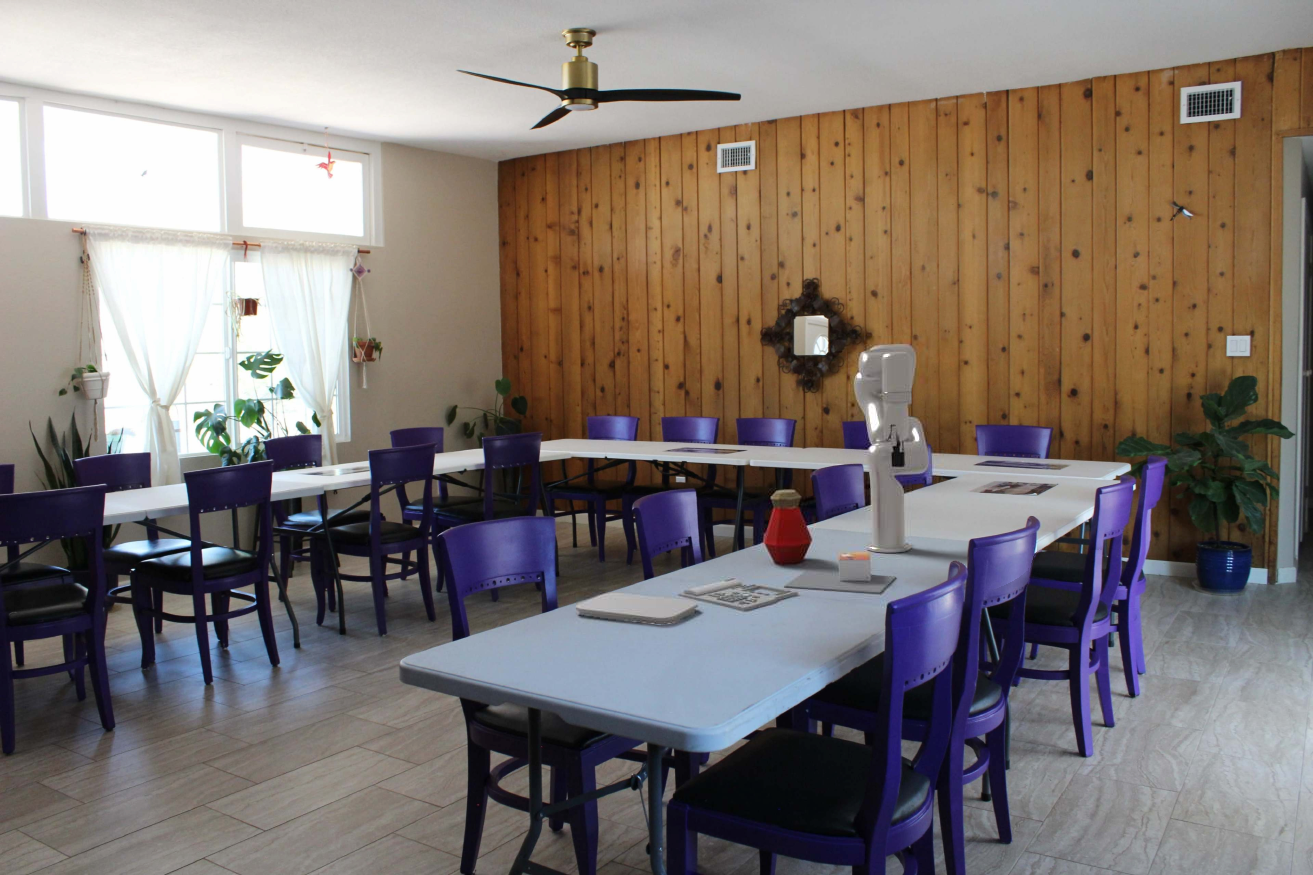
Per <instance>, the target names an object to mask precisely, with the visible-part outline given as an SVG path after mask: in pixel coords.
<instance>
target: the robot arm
mask: <svg viewBox="0 0 1313 875" xmlns="http://www.w3.org/2000/svg"><path fill="white" fill-rule="evenodd" d="M916 367H917V356H916V351H915V349H914V348H913V346H912V345H910V344H907V343H898V344H895V343H894V344H878V345H874V346H872V347H871V348H870V349H869V350H864V351H862V352H861V353H860V355H859V358H858V371H859V372H858V373H857V374H855V376H854V380H853V389H854V394H855V398H856V402H857V403H858V406H859V407H860V409H861V411H862V413H863V414H864V417H865V423H866V428H867V429H866V431H867V434H868V436H867V437H868V439H869V443H870V444H871V445H870V446H869V447H868V449H867V452H866V461H867V466H868V467H867V468H868V473H869V480H870V482H869V483H870V510H871V511H870V512H871V513H870V516H871V523H870V524H871V542H869V543H867V544H866V550H868V551H869V552H876V553H886V554H887V553H888V554H889V553H890V554H892V553H904V552H907V551H910V550H911V544H909V543H907V542H906V531H905V530H906V529H905V491H904V490H905V489H904V488H903V486H902V484H901V483H900V482H899V481H898V480H897V479H896V477H895V476H899V475H918V474H919V475H920V474H923V473H925V472H926V471H927V470H928V468H929V463H930V461H929V460H930V458H929V451H928V446H927V442H926V437H925V433H924V428H923V425H922V423H921V421H920V420H919V419H918V418H916V417H914V416H909V407H908V406H909V405H910V404H912V390H913V389H912V388H913V384H914V378H915V372H916ZM881 396H882V398H881Z"/></svg>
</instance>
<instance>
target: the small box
mask: <svg viewBox="0 0 1313 875" xmlns="http://www.w3.org/2000/svg"><path fill="white" fill-rule="evenodd" d="M870 552H871V551H858V552H857V551H856V552H854V551H850V552H849V551H847V552H846V551H840V552H839V553H838V573H839V581H871V575H872V573H871V572H872V571H871V570H872V569H871V553H870Z"/></svg>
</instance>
